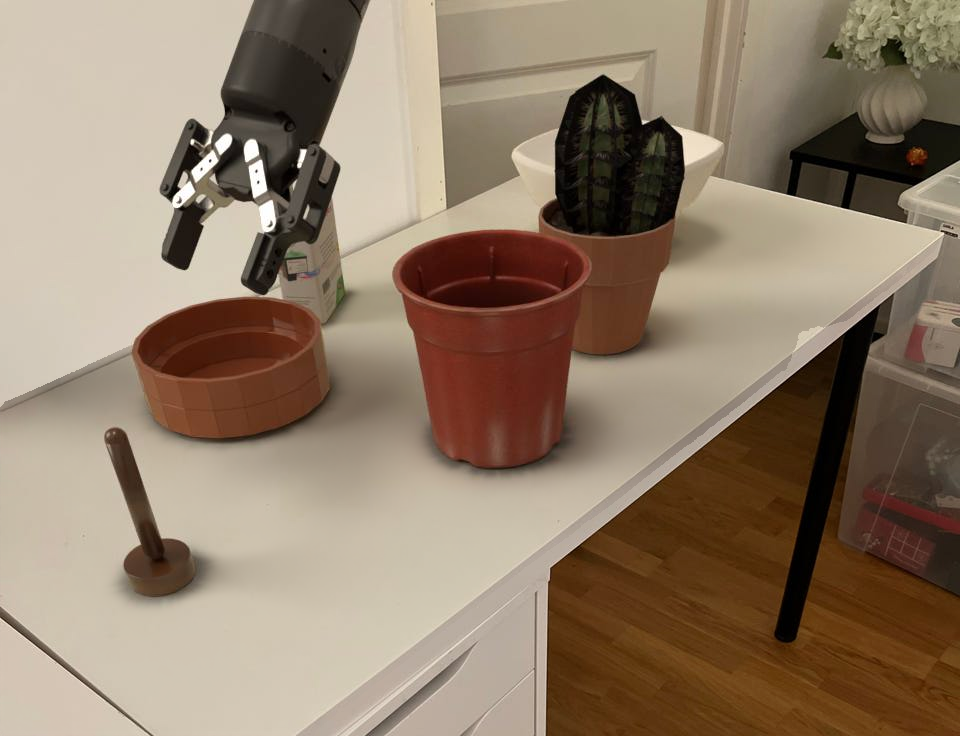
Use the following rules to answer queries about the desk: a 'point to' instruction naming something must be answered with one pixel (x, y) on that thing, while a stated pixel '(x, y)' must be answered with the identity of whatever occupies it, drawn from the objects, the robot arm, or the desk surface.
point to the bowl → (698, 148)
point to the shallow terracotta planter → (232, 366)
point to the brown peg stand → (147, 530)
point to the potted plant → (614, 209)
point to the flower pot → (494, 339)
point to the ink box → (315, 271)
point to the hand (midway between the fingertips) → (212, 277)
